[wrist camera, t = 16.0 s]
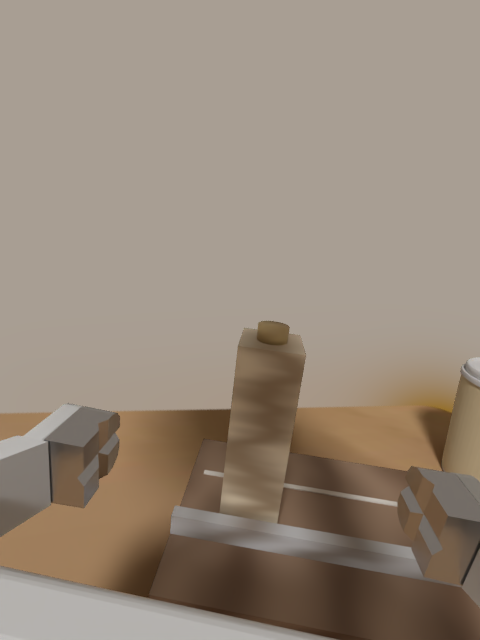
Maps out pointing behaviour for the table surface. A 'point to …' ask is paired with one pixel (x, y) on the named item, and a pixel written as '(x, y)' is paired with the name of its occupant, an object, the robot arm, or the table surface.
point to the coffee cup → (465, 425)
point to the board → (310, 557)
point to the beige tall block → (261, 421)
